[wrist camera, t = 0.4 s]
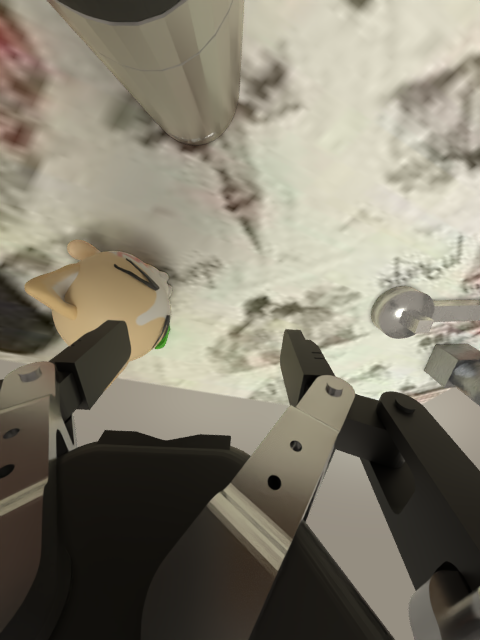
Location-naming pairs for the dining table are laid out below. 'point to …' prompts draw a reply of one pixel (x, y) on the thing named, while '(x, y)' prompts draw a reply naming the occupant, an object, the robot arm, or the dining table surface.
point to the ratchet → (418, 312)
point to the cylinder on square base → (456, 368)
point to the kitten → (107, 297)
